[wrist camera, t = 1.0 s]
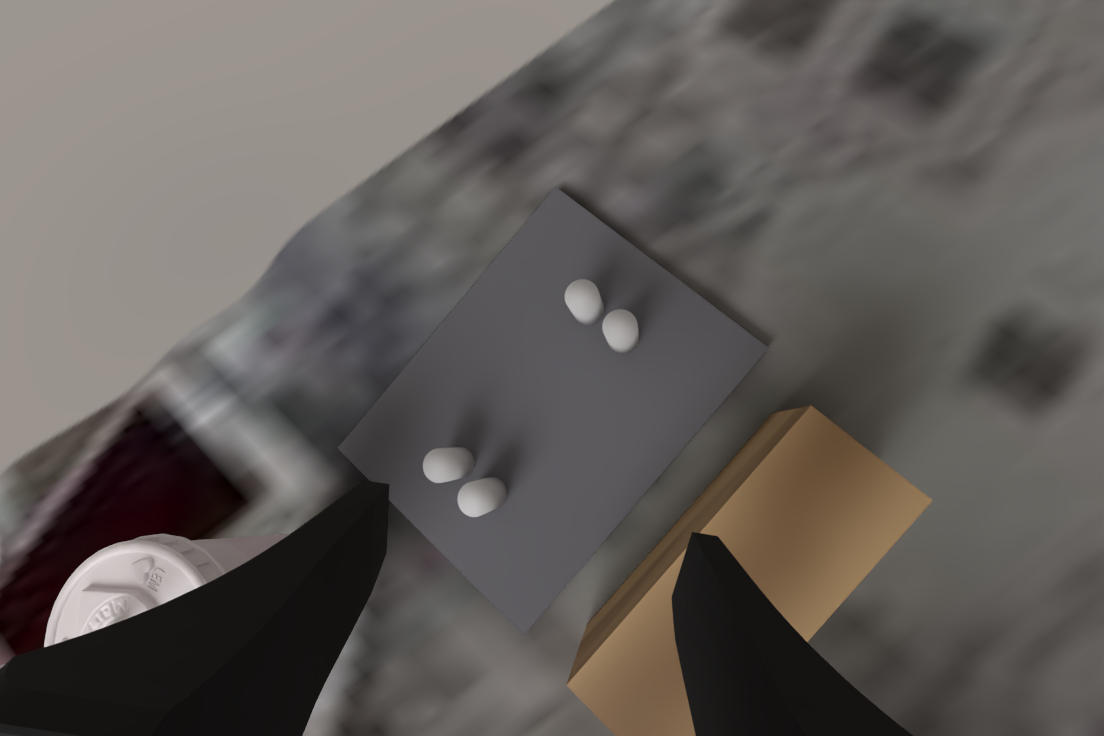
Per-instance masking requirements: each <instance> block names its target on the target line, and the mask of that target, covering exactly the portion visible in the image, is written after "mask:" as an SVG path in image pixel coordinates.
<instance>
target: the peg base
mask: <svg viewBox="0 0 1104 736" xmlns="http://www.w3.org/2000/svg"><path fill="white" fill-rule="evenodd" d="M767 350H768V347H767V346H766V345H765V344H763V343H762V342H761V341H759V340H758V339H757V338H755V337H754V336H753V335H751V334H750V333H749V332H747V331H746V330H745V329H743V328H742V327H741V326H739V325H738V324H737V323H735V322H734V321H733V320H731V319H730V318H729V317H727V316H726V315H725V314H723V313H722V312H721V311H720V310H718V309H717V308H716V307H714V306H713V305H712V304H710V303H709V302H708V301H706V300H705V299H704V298H702V297H701V296H700V295H698V294H697V293H696V292H694V291H693V290H692V289H690V288H689V287H688V286H686V285H685V284H684V283H682V282H681V281H680V280H678V279H677V278H676V277H675V276H673V275H672V274H671V273H669V272H668V271H667V270H665V269H664V268H663V267H661V266H660V265H659V264H657V263H656V262H655V261H653V260H652V259H651V258H649V257H648V256H647V255H645V254H644V253H643V252H641V251H640V250H639V249H637V248H636V247H635V246H633V245H632V244H631V243H630V242H628V241H627V240H626V239H624V238H623V237H622V236H620V235H619V234H618V233H616V232H615V231H614V230H612V229H611V228H610V227H608V226H607V225H606V224H604V223H603V222H602V221H600V220H599V219H598V218H596V217H595V216H594V215H592V214H591V213H590V212H588V211H587V210H586V209H585V208H583V207H582V206H581V205H579V204H578V203H577V202H575V201H574V200H573V199H571V198H570V197H569V196H567V195H566V194H565V193H563V192H562V191H561V190H559V189H558V188H557V187H555V188H554V189H553V191H552V192H551V193H550V194H549V195H548V197H547V198H546V199H545V200H544V201H543V203H542V204H541V205H540V206H539V207H538V209H537V210H536V211H535V212H534V213H533V215H532V216H531V217H530V218H529V219H528V221H527V222H526V223H525V224H524V225H523V227H522V228H521V229H520V230H519V231H518V233H517V234H516V235H515V236H514V237H513V238H512V240H511V241H510V242H509V243H508V244H507V246H506V247H505V248H504V249H503V250H502V252H501V253H500V254H499V255H498V256H497V258H496V259H495V260H494V261H493V262H492V264H491V265H490V266H489V267H488V268H487V270H486V271H485V272H484V273H483V274H482V276H481V277H480V278H479V279H478V280H477V282H476V283H475V284H474V285H473V286H472V288H471V289H470V290H469V291H468V292H467V294H466V295H465V296H464V297H463V298H462V300H461V301H460V302H459V303H458V304H457V306H456V307H455V308H454V309H453V310H452V311H451V313H450V314H449V315H448V316H447V317H446V319H445V320H444V321H443V322H442V323H441V325H440V326H439V327H438V328H437V329H436V331H435V332H434V333H433V334H432V335H431V337H430V338H429V339H428V340H427V341H426V343H425V344H424V345H423V346H422V347H421V349H420V350H419V351H418V352H417V353H416V355H415V356H414V357H413V358H412V359H411V361H410V362H409V363H408V364H407V365H406V367H405V368H404V369H403V370H402V371H401V373H400V374H399V375H398V376H397V377H396V378H395V380H394V381H393V382H392V383H391V384H390V386H389V387H388V388H387V389H386V390H385V392H384V393H383V394H382V395H381V396H380V398H379V399H378V400H377V401H376V402H375V404H374V405H373V406H372V407H371V408H370V410H369V411H368V412H367V413H366V414H365V416H364V417H363V418H362V419H361V420H360V422H359V423H358V424H357V425H356V426H355V428H354V429H353V430H352V431H351V432H350V434H349V435H348V436H347V437H346V438H345V440H344V441H343V442H342V443H341V444H340V445H339V447H338V448H337V449H338V450H339V451H340V452H341V453H342V454H343V455H344V456H345V457H346V458H347V459H348V460H349V461H350V462H351V463H352V464H353V465H354V466H355V467H356V468H357V469H358V470H359V471H360V472H361V473H362V474H363V475H364V476H365V477H366V478H367V479H368V480H369V481H373V482H379V483H386V484H389V501H390V502H391V503H392V504H393V505H394V506H395V507H396V508H397V509H398V510H399V511H400V512H401V513H402V514H403V515H404V516H405V517H406V518H407V519H408V520H409V521H410V522H411V523H412V524H413V525H414V526H415V527H416V528H417V529H418V530H419V531H420V532H421V533H422V534H423V535H424V536H425V537H426V538H427V539H428V540H429V541H430V542H431V543H432V544H433V545H434V546H435V547H436V548H437V549H438V550H439V551H440V552H441V553H442V554H443V555H444V556H445V557H446V558H447V559H448V560H449V561H450V562H451V563H452V564H453V565H454V566H455V567H456V568H457V569H458V570H459V571H460V572H461V573H462V574H463V575H464V576H465V577H466V578H467V579H468V580H469V581H470V582H471V583H472V584H473V585H474V586H475V587H476V588H477V589H478V590H479V591H480V592H481V593H482V594H483V595H484V596H485V597H486V598H487V599H488V600H489V601H490V602H491V603H492V604H493V605H494V606H495V607H496V608H497V609H498V610H499V611H500V612H501V613H502V614H503V615H504V616H505V617H506V618H507V619H508V620H509V621H510V622H511V623H512V624H513V625H514V626H515V627H516V628H517V629H518V630H519V631H520V632H521V633H522V634H523V635H525V633H526V632H527V631H528V630H529V629H530V627H531V626H532V625H533V624H534V623H535V622H536V620H537V619H538V618H539V617H540V616H541V615H542V613H543V612H544V611H545V610H546V609H547V608H548V606H549V605H550V604H551V603H552V602H553V600H554V599H555V598H556V597H557V596H558V595H559V593H560V592H561V591H562V590H563V589H564V588H565V586H566V585H567V584H568V583H569V582H570V581H571V579H572V578H573V577H574V576H575V575H576V574H577V572H578V571H579V570H580V569H581V568H582V566H583V565H584V564H585V563H586V562H587V561H588V559H589V558H590V557H591V556H592V555H593V554H594V552H595V551H596V550H597V549H598V548H599V547H600V545H601V544H602V543H603V542H604V541H605V540H606V538H607V537H608V536H609V535H610V534H611V532H612V531H613V530H614V529H615V528H616V527H617V525H618V524H619V523H620V522H621V521H622V520H623V518H624V517H625V516H626V515H627V514H628V513H629V511H630V510H631V509H632V508H633V507H634V505H635V504H636V503H637V502H638V501H639V500H640V498H641V497H642V496H643V495H644V494H645V493H646V491H647V490H648V489H649V488H650V487H651V486H652V484H653V483H654V482H655V481H656V480H657V479H658V477H659V476H660V475H661V474H662V473H663V471H664V470H665V469H666V468H667V467H668V466H669V464H670V463H671V462H672V461H673V460H674V459H675V457H676V456H677V455H678V454H679V453H680V452H681V450H682V449H683V448H684V447H685V446H686V445H687V443H688V442H689V441H690V440H691V439H692V437H693V436H694V435H695V434H696V433H697V432H698V430H699V429H700V428H701V427H702V426H703V425H704V423H705V422H706V421H707V420H708V419H709V418H710V416H711V415H712V414H713V413H714V412H715V410H716V409H717V408H718V407H719V406H720V405H721V403H722V402H723V401H724V400H725V399H726V398H727V396H728V395H729V394H730V393H731V392H732V391H733V389H734V388H735V387H736V386H737V385H738V384H739V382H740V381H741V380H742V379H743V378H744V376H745V375H746V374H747V373H748V372H749V371H750V369H751V368H752V367H753V366H754V365H755V364H756V362H757V361H758V360H759V359H760V358H761V357H762V355H763V354H764V353H765V352H766V351H767Z"/></svg>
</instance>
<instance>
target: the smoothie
mask: <svg viewBox="0 0 1104 736" xmlns="http://www.w3.org/2000/svg"><path fill="white" fill-rule="evenodd" d="M288 535H290V534H278V535H265V536H251V537H238V538H224V539H211V540H209V539H208V540H194V541H190V540H188V539H186V538H184V537H178V536H173V535H167V534H157V535H149V536H142V537H138V538H136V539H134V540H130V541H125V542H121V543H117V544H113V545H111V546H108V547H106V548H104V549H102V550H100V551H98V552H97V553H95V554H94V555H92V556H91V557H89V558H88V559H87V560H86V561H84V562H83V563H82V564H81V565H80V566H79V567H78V568H77V569H76V570H75V572H74V573H73V574H72V575H71V576H70V578H69V579H68V580H67V582H66V583H65V585H64V586H63V588H62V590H61V592H60V593H59V595H58V598H57V600H56V602H55V603H54V606H53V609H52V612H51V615H50V618H49V621H48V625H47V631H46V637H45V643H44V647H47V646H51V645H54V644H57V643H60V642H63V641H66V640H69V639H72V638H75V637H78V636H81V635H84V634H87V633H90V632H93V631H96V630H98V629H101V628H104V627H106V626H109V625H112V624H114V623H117V622H120V621H122V620H125V619H128V618H130V617H133V616H135V615H137V614H140V613H142V612H145V611H147V610H150V609H152V608H154V607H157V606H159V605H161V604H164V603H166V602H168V601H170V600H172V599H174V598H176V597H179V596H181V595H183V594H185V593H187V592H189V591H191V590H194V589H196V588H198V587H200V586H202V585H204V584H206V583H208V582H210V581H212V580H214V579H216V578H218V577H220V576H222V575H224V574H226V573H227V572H229V571H231V570H233V569H235V568H237V567H238V566H240V565H242V564H244V563H245V562H247V561H249V560H251V559H252V558H254V557H256V556H257V555H259V554H260V553H262V552H264V551H265V550H267V549H268V548H270V547H271V546H273V545H274V544H276V543H277V542H279V541H280V540H282V539H284V538H285V537H287V536H288ZM4 665H5V664H4ZM4 665H1V666H0V668H2V667H3V666H4Z"/></svg>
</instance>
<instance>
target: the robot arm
mask: <svg viewBox="0 0 1104 736" xmlns="http://www.w3.org/2000/svg"><path fill="white" fill-rule="evenodd" d="M388 505H389V484H386V483H379V482H373V481H367V480H363V481H362V482H360V483H359V484H357V485H356V486H355V487H353V488H352V489H351V490H349V491H348V492H347V493H345V494H344V495H343V496H342V497H340V498H339V499H338V500H336V501H335V502H334V503H332V504H331V505H330V506H328V507H327V508H326V509H324V510H323V511H322V512H320V513H319V514H318V515H316V516H315V517H314V518H312V519H311V520H309V521H308V522H307V523H305V524H304V525H302V526H301V527H300V528H298V529H297V530H295V531H294V532H293V533H291V534H290V535H288V536H287V537H285V538H284V539H282V540H280V541H279V542H277V543H276V544H274V545H273V546H271V547H270V548H268V549H267V550H265V551H264V552H262V553H260V554H259V555H257V556H256V557H254V558H252V559H251V560H249V561H247V562H245V563H244V564H242V565H240V566H238V567H237V568H235V569H233V570H231V571H229V572H227V573H226V574H224V575H222V576H220V577H218V578H216V579H214V580H212V581H210V582H208V583H206V584H204V585H202V586H200V587H198V588H196V589H194V590H191V591H189V592H187V593H185V594H183V595H181V596H179V597H176V598H174V599H172V600H170V601H168V602H166V603H164V604H161V605H159V606H157V607H154V608H152V609H150V610H147V611H145V612H142V613H140V614H137V615H135V616H133V617H130V618H128V619H125V620H122V621H120V622H117V623H114V624H112V625H109V626H106V627H104V628H101V629H98V630H96V631H93V632H90V633H87V634H84V635H81V636H78V637H75V638H72V639H69V640H66V641H63V642H60V643H57V644H54V645H51V646H47V647H44V648H41V649H38V650H35V651H32V652H29V653H26V654H22V655H19V656H15V657H13V658H12V659H11V660H10V661H9V662H7V663H6V664H5V665H4V666H3V667H2V668H0V736H302V735H303V732H304V730H305V728H306V725H307V723H308V720H309V718H310V715H311V713H312V710H313V708H314V705H315V703H316V701H317V699H318V697H319V694H320V692H321V690H322V688H323V686H324V684H325V682H326V680H327V678H328V676H329V674H330V672H331V670H332V668H333V666H334V664H335V662H336V661H337V659H338V657H339V655H340V653H341V651H342V649H343V647H344V645H345V643H346V641H347V639H348V637H349V636H350V634H351V632H352V630H353V628H354V626H355V624H356V622H357V620H358V618H359V616H360V614H361V612H362V610H363V608H364V606H365V604H366V603H367V601H368V599H369V597H370V595H371V593H372V590H373V587H374V585H375V582H376V580H377V577H378V574H379V572H380V569H381V566H382V563H383V560H384V558H385V555H386V549H387V527H388ZM671 598H672V611H673V623H674V633H675V642H676V647H677V651H678V656H679V661H680V666H681V670H682V675H683V680H684V684H685V689H686V693H687V698H688V703H689V707H690V712H691V716H692V721H693V726H694V730H695V735H696V736H913V735H911V734H910V733H909V732H907V731H906V730H905V729H904V728H902V727H901V726H900V725H898V724H897V723H896V722H895V721H893V720H892V719H891V718H890V717H889V716H887V715H886V714H885V713H884V712H883V711H881V710H880V709H879V708H878V707H877V706H875V705H874V704H873V703H872V702H871V701H869V700H868V699H867V698H866V697H865V696H863V695H862V694H861V693H860V692H859V691H858V690H857V689H855V688H854V687H853V686H852V685H851V684H850V683H849V682H848V681H846V680H845V679H844V678H843V677H842V676H841V675H840V674H839V673H838V672H837V671H836V670H835V669H834V668H833V667H832V666H831V665H830V664H829V663H827V662H826V661H825V660H824V659H823V658H822V657H821V656H820V655H819V654H818V653H817V652H816V651H815V650H814V649H813V648H812V647H811V646H810V645H809V644H808V643H807V642H806V641H805V639H804V638H803V637H802V636H801V635H800V634H799V633H798V632H797V631H796V630H795V629H794V628H793V627H792V625H791V624H790V623H789V622H788V621H787V620H786V619H785V618H784V617H783V615H782V614H781V613H780V612H779V611H778V610H777V609H776V607H775V606H774V605H773V604H772V603H771V602H770V600H769V599H768V598H767V597H766V596H765V594H764V593H763V592H762V591H761V590H760V588H759V587H758V586H757V585H756V584H755V582H754V581H753V580H752V579H751V577H750V576H749V575H748V574H747V572H746V571H745V570H744V569H743V567H742V566H741V565H740V563H739V562H738V561H737V560H736V558H735V557H734V556H733V555H732V553H731V552H730V551H729V549H728V548H727V547H726V546H725V544H724V543H723V542H722V541H721V540H720V538H719V537H718V536H715V535H708V534H702V533H696V532H692V533H691V536H690V540H689V543H688V546H687V549H686V552H685V555H684V559H683V562H682V565H681V568H680V571H679V575H678V578H677V581H676V584H675V587H674V591H673V594H672V597H671Z"/></svg>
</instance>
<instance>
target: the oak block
mask: <svg viewBox="0 0 1104 736" xmlns="http://www.w3.org/2000/svg"><path fill="white" fill-rule="evenodd" d="M932 501H933V500H932V499H930V498H929V497H928V496H926V495H925V494H924V493H923V492H921V491H920V490H919V489H917V488H916V487H915V486H914V485H912V484H911V483H910V482H909V481H907V480H906V479H905V478H903V477H902V476H901V475H900V474H898V473H897V472H896V471H894V470H893V469H892V468H891V467H889V466H888V465H887V464H886V463H884V462H883V461H882V460H880V459H879V458H878V457H877V456H875V455H874V454H873V453H871V452H870V451H869V450H868V449H866V448H865V447H864V446H863V445H861V444H860V443H859V442H857V441H856V440H855V439H854V438H852V437H851V436H850V435H848V434H847V433H846V432H845V431H843V430H842V429H841V428H840V427H838V426H837V425H836V424H834V423H833V422H832V421H831V420H829V419H828V418H827V417H825V416H824V415H823V414H822V413H820V412H819V411H818V410H816V409H815V408H814V407H813V406H805V407H800V408H795V409H790V410H785V411H780V412H775V413H772V414H771V415H770V416H769V417H768V418H767V419H766V421H765V422H764V423H763V424H762V425H761V426H760V427H759V429H758V430H757V431H756V432H755V433H754V434H753V435H752V437H751V438H750V439H749V440H748V441H747V442H746V444H745V445H744V446H743V447H742V448H741V449H740V450H739V452H738V453H737V454H736V455H735V456H734V457H733V458H732V460H731V461H730V462H729V463H728V464H727V465H726V466H725V468H724V469H723V470H722V471H721V472H720V473H719V474H718V476H717V477H716V478H715V479H714V480H713V481H712V482H711V484H710V485H709V486H708V487H707V488H706V489H705V490H704V492H703V493H702V494H701V495H700V496H699V497H698V498H697V500H696V501H695V502H694V503H693V504H692V505H691V506H690V508H689V509H688V510H687V511H686V512H685V513H684V514H683V516H682V517H681V518H680V519H679V520H678V521H677V523H676V524H675V525H674V526H673V527H672V528H671V529H670V531H669V532H668V533H667V534H666V535H665V536H664V537H663V539H662V540H661V541H660V542H659V543H658V544H657V545H656V547H655V548H654V549H653V550H652V551H651V552H650V553H649V555H648V556H647V557H646V558H645V559H644V560H643V561H642V563H641V564H640V565H639V566H638V567H637V568H636V569H635V571H634V572H633V573H632V574H631V575H630V576H629V577H628V579H627V580H626V581H625V582H624V583H623V584H622V585H621V587H620V588H619V589H618V590H617V591H616V592H615V593H614V595H613V596H612V597H611V598H610V599H609V600H608V601H607V603H606V604H605V605H604V606H603V607H602V608H601V610H600V611H599V612H598V613H597V614H596V615H595V616H594V618H593V619H592V620H591V621H590V622H589V623H588V624H587V626H586V629H585V632H584V635H583V638H582V641H581V644H580V647H579V650H578V653H577V656H576V659H575V661H574V664H573V667H572V670H571V673H570V676H569V679H568V682H567V686H568V687H569V688H570V689H571V690H572V691H573V692H574V693H575V694H576V695H577V696H578V697H579V698H580V699H581V700H582V702H583V703H584V704H585V705H586V706H587V707H588V708H589V709H590V710H591V711H592V712H593V713H594V714H595V715H596V716H597V717H598V718H599V719H600V720H601V721H602V722H603V723H604V724H605V725H606V726H607V727H608V728H609V729H610V730H611V731H612V732H613V733H614V734H615V735H616V736H696V735H695V730H694V726H693V721H692V716H691V712H690V707H689V703H688V698H687V693H686V689H685V684H684V680H683V675H682V670H681V666H680V661H679V656H678V651H677V647H676V642H675V633H674V623H673V611H672V598H671V597H672V594H673V591H674V587H675V584H676V581H677V578H678V575H679V571H680V568H681V565H682V562H683V559H684V555H685V552H686V549H687V546H688V543H689V540H690V536H691V533H692V532H696V533H702V534H708V535H715V536H718V537H719V538H720V540H721V541H722V542H723V543H724V544H725V546H726V547H727V548H728V549H729V551H730V552H731V553H732V555H733V556H734V557H735V558H736V560H737V561H738V562H739V563H740V565H741V566H742V567H743V569H744V570H745V571H746V572H747V574H748V575H749V576H750V577H751V579H752V580H753V581H754V582H755V584H756V585H757V586H758V587H759V588H760V590H761V591H762V592H763V593H764V594H765V596H766V597H767V598H768V599H769V600H770V602H771V603H772V604H773V605H774V606H775V607H776V609H777V610H778V611H779V612H780V613H781V614H782V615H783V617H784V618H785V619H786V620H787V621H788V622H789V623H790V624H791V625H792V627H793V628H794V629H795V630H796V631H797V632H798V633H799V634H800V635H801V636H802V637H803V638H804V639H805V641H806V642H808V641H809V640H810V639H811V637H812V636H813V635H814V634H815V633H816V632H817V631H818V630H819V628H820V627H821V626H822V625H823V624H824V623H825V622H826V620H827V619H828V618H829V617H830V616H831V615H832V614H833V613H834V611H835V610H836V609H837V608H838V607H839V606H840V605H841V604H842V602H843V601H844V600H845V599H846V598H847V597H848V596H849V595H850V593H851V592H852V591H853V590H854V589H855V588H856V587H857V585H858V584H859V583H860V582H861V581H862V580H863V579H864V578H865V576H866V575H867V574H868V573H869V572H870V571H871V570H872V569H873V567H874V566H875V565H876V564H877V563H878V562H879V561H880V559H881V558H882V557H883V556H884V555H885V554H886V553H887V552H888V550H889V549H890V548H891V547H892V546H893V545H894V544H895V543H896V541H897V540H898V539H899V538H900V537H901V536H902V535H903V534H904V532H905V531H906V530H907V529H908V528H909V527H910V526H911V524H912V523H913V522H914V521H915V520H916V519H917V518H918V517H919V515H920V514H921V513H922V512H923V511H924V510H925V509H926V508H927V506H928V505H929V504H930V503H931V502H932Z"/></svg>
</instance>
